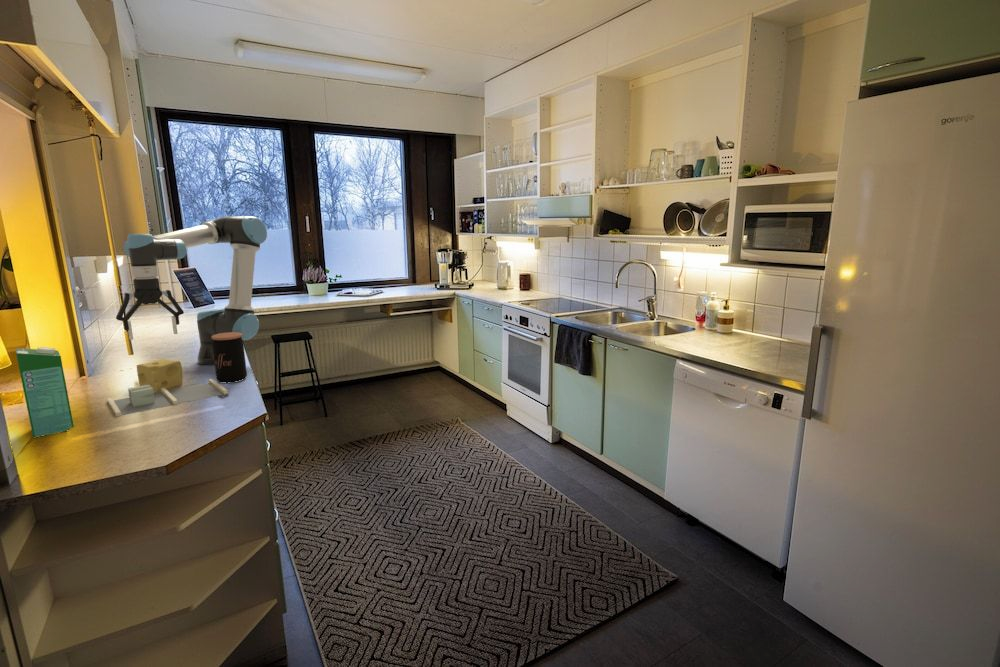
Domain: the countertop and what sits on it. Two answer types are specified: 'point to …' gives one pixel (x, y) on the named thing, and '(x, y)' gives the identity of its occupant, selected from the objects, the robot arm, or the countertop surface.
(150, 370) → the cheese
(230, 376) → the coffee jar
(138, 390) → the sage block
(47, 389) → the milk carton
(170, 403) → the slot board
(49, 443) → the countertop surface
